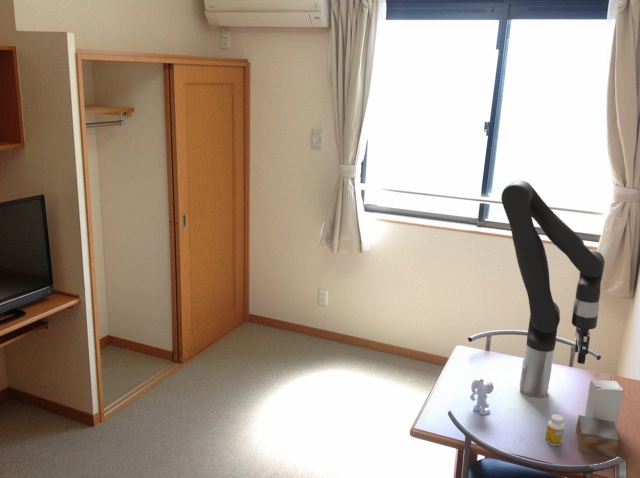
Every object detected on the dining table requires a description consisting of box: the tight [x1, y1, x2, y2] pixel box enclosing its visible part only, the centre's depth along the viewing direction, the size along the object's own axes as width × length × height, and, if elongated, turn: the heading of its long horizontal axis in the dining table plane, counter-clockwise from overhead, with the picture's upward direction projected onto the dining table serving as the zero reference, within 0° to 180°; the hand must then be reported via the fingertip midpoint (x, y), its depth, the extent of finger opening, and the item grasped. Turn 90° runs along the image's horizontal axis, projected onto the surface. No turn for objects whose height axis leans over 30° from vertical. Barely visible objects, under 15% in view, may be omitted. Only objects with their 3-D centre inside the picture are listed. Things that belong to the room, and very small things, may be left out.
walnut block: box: [575, 414, 620, 459], centre depth 178 cm, size 10×10×6 cm
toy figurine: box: [470, 378, 494, 416], centre depth 193 cm, size 7×6×12 cm
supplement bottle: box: [544, 413, 565, 447], centre depth 179 cm, size 5×5×8 cm
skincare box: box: [584, 379, 624, 430], centre depth 187 cm, size 8×6×15 cm
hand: (579, 357), depth 197 cm, fingers open, 8 cm apart
